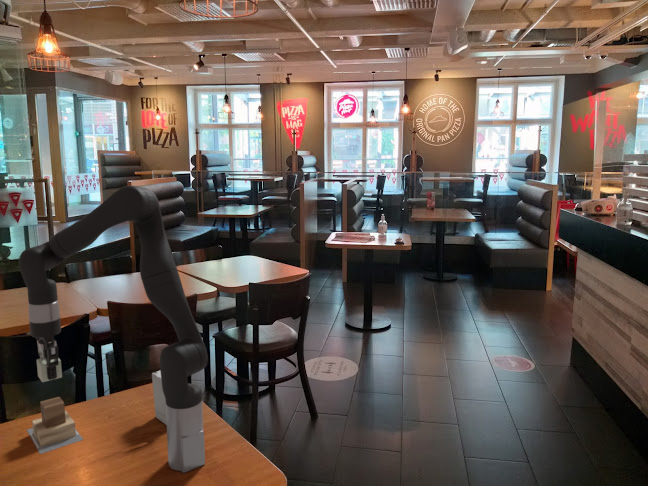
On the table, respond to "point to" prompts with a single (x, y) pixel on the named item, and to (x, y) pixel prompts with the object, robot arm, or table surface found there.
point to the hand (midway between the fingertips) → (49, 375)
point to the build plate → (54, 445)
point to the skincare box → (159, 397)
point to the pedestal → (53, 431)
